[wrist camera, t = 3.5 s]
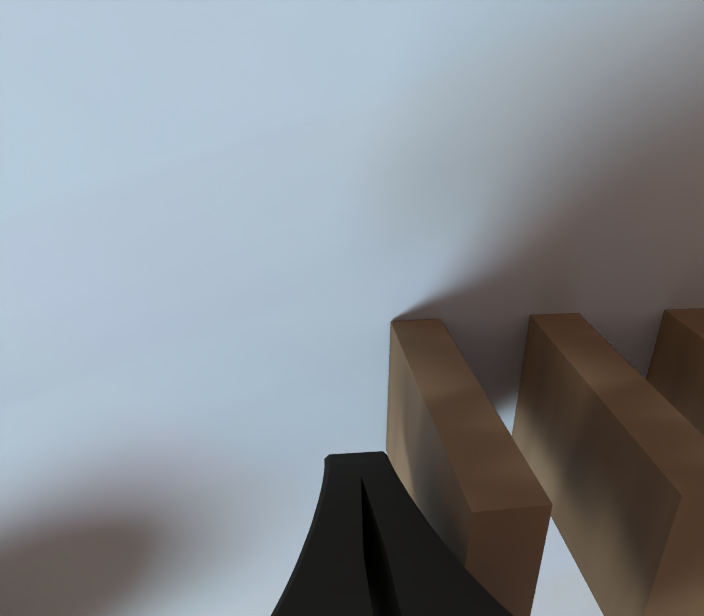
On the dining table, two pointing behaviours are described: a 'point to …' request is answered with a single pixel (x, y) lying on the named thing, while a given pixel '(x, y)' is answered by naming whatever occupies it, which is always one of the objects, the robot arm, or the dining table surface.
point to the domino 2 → (613, 470)
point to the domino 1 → (464, 464)
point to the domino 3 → (681, 363)
